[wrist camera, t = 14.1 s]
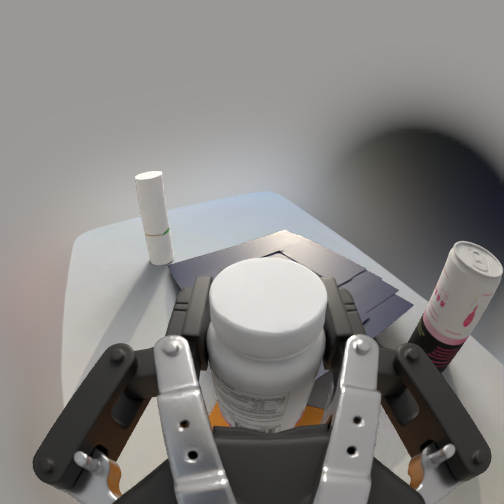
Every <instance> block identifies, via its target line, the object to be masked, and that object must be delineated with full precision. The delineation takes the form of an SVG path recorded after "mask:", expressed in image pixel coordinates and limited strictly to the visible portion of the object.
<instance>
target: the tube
mask: <svg viewBox="0 0 504 504" xmlns="http://www.w3.org/2000/svg"><path fill="white" fill-rule="evenodd" d="M135 182H136V188H137V195H138V200H139V207H140V212H141V218H142V223H143V228H144V233H145V238H146V243H147V247H148V252H149V257H150V261H151V263H152V264H154V265H165V264H168V263H170V262H171V261H172V260H173V259H174V253H173V247H172V241H171V235H170V229H169V222H168V215H167V208H166V200H165V193H164V184H163V176H162V172H160V171H150V172H145V173H142V174H139V175H137V176H136V177H135Z"/></svg>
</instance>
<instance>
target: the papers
mask: <svg viewBox="0 0 504 504" xmlns="http://www.w3.org/2000/svg"><path fill="white" fill-rule="evenodd" d="M267 257H268V258H280V259H286V260H290V261H293V262H296V263H299V264H301V265H303V266H305V267H306V268H308V269H310V270H311V271H313V272H314V273H315V274H316V275H317V276H318V277H334V278H335V280H336V282H337V285H338V288H346V289H347V290H348V291H349V292H350V293H351V295H352V297H353V299H354V302H355V305H356V307H357V311H358V312H359V315H360V318H361V320H362V323H363V326H364V328H365V331H366V334H367V336H369V337H371V338H372V339H373V338H374V337H375V336H377V335H378V334H379V333H381V332H382V331H383V330H384V329H386V328H387V327H388V326H389V325H391V324H392V323H393V322H394V321H396V320H397V319H398V318H399V317H401V316H402V315H403V314H404V313H405V312H407V311H408V310H409V309H410V308H411V307H412V306H414V305H413V304H411V303H410V302H408V301H406V300H404V299H403V298H401V297H399V296H397V295H396V294H395V293H396V292H398V291H399V290H398V289H396V288H394V287H393V286H391V285H389V284H387V283H386V282H384V281H382V280H381V279H382V278H380V277H379V276H377V275H375V274H373V273H371V272H369V271H367V270H366V268H364V267H362V266H360V265H358V264H356V263H354V262H352V261H351V260H349V259H347V258H345V257H343V256H341V255H339V254H337V253H335V252H333V251H331V250H329V249H327V248H325V247H323V246H321V245H319V244H317V243H315V242H313V241H311V240H309V239H306V238H303V237H301V236H299V235H297V234H296V235H295V234H293V233H291V232H289V231H287V230H282V231H279V232H276V233H273V234H270V235H267V236H264V237H261V238H258V239H255V240H252V241H249V242H246V243H243V244H240V245H237V246H234V247H230V248H227V249H223V250H220V251H216V252H213V253H209V254H206V255H202V256H199V257H195V258H192V259H188V260H185V261H181V262H178V263H174V264H171V265H167V266H168V268H169V270H170V271H171V273H172V274H171V275H172V276H173V278H174V279H175V281H176V283H177V284H178V285H179V287H180V288H181V290H182V289H183V288H184V287H193V285H194V281H195V278H196V276H212V277H213V281H214V279H215V278H216V276H217V275H218V274H219V273H220V272H221V271H222V270H224V269H225V268H227V267H228V266H230V265H232V264H235V263H237V262H240V261H243V260H247V259H252V258H267ZM328 371H329V370H324V366H323V361H322V362H321V365H320V368H319V371H318V374H317V376H316V379H317V378H319V377H320V376H322V375H323V374H325V373H326V372H328ZM316 379H315V380H316Z"/></svg>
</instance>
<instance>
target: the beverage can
mask: <svg viewBox="0 0 504 504" xmlns="http://www.w3.org/2000/svg"><path fill="white" fill-rule="evenodd" d="M502 273H503V268H502V266H501V264H500V262H499V261H498V259H496V257H495V256H494V255H492V254H491V253H490V252H489V251H487V250H486V249H484V248H482V247H481V246H478V245H476V244H473V243H470V242H465V241H460V242H457V243H455V245H454V247H453V248H452V249H451V251H450V253H449V256H448V259H447V261H446V264H445V266H444V269H443V271H442V274H441V276H440V278H439V281H438V283H437V286H436V288H435V290H434V292H433V294H432V296H431V299H430V301H429V303H428V305H427V307H426V309H425V311H424V313H423V315H422V317H421V319H420V321H419V323H418V325H417V327H416V328H415V330H414V332H413V334H412V336H411V338H410V339H409V341H408V343H413V344H416V345H418V346H419V347H421V348H422V349H423V350H424V352H425V353H426V354H427V356H428V357H429V358H430V360H431V361H432V362H433V364H434V365H435V366H436V368H437V369H438V370H439V372H440V373H442V372H443V371H444V370H445V368H446V367H447V366H448V365H449V363H450V362H451V361H452V359H453V358H454V357H455V355H456V354H457V352H458V351H459V350H460V348H461V347H462V345H463V344H464V342H465V341H466V339H467V338H468V337H469V335H470V333H471V332H472V330H473V329H474V327H475V326H476V324H477V322H478V321H479V319H480V317H481V316H482V314H483V312H484V311H485V309H486V307H487V306H488V304H489V302H490V300H491V298H492V296H493V295H494V293H495V291H496V289H497V287H498V285H499V283H500V281H501V275H502Z"/></svg>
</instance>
